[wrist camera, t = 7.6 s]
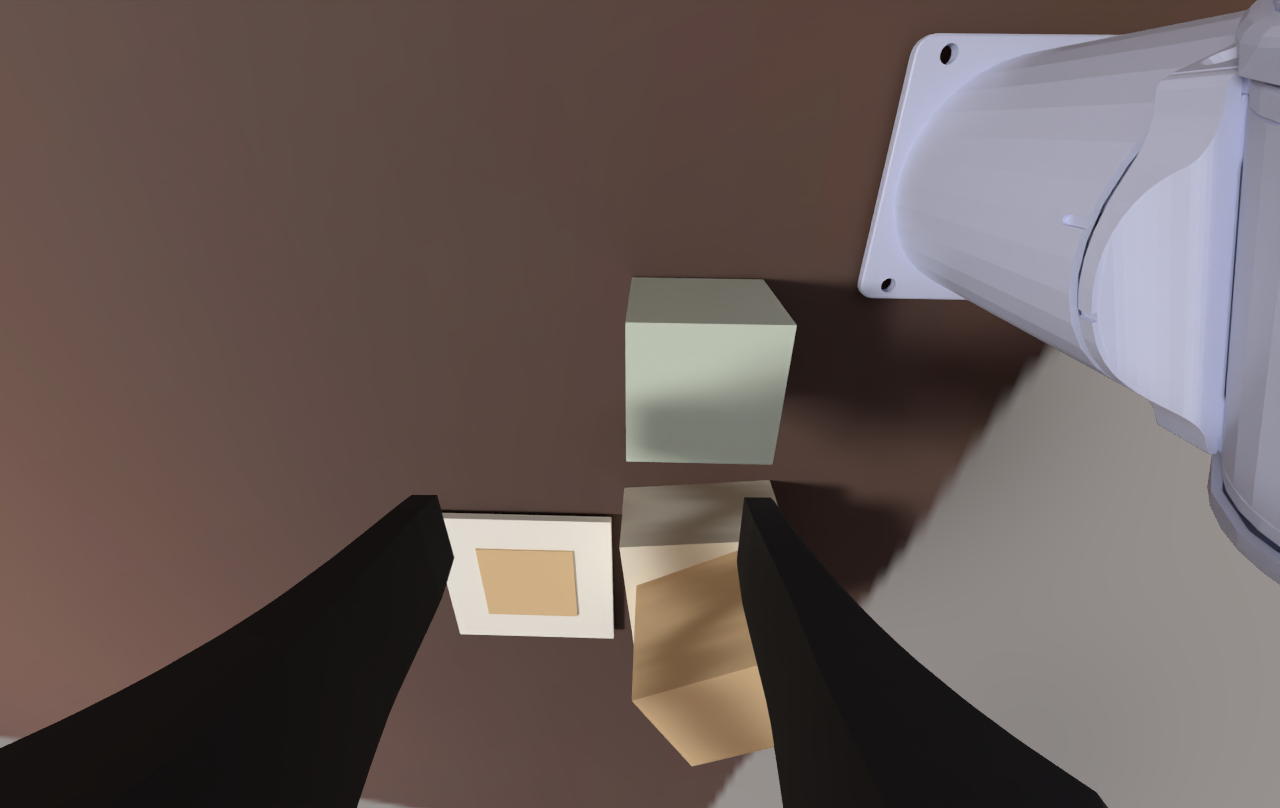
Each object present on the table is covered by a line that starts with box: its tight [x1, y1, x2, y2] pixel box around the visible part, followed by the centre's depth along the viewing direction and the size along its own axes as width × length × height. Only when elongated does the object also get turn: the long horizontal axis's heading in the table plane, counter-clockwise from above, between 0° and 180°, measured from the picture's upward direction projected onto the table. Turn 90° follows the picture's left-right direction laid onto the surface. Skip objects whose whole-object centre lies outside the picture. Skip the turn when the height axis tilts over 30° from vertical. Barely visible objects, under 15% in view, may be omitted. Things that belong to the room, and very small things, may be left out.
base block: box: [619, 480, 778, 642], centre depth 24 cm, size 7×7×4 cm
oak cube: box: [632, 551, 774, 766], centre depth 20 cm, size 5×5×5 cm
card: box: [442, 513, 614, 638], centre depth 27 cm, size 9×9×1 cm
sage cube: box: [625, 277, 797, 465], centre depth 18 cm, size 5×5×5 cm
